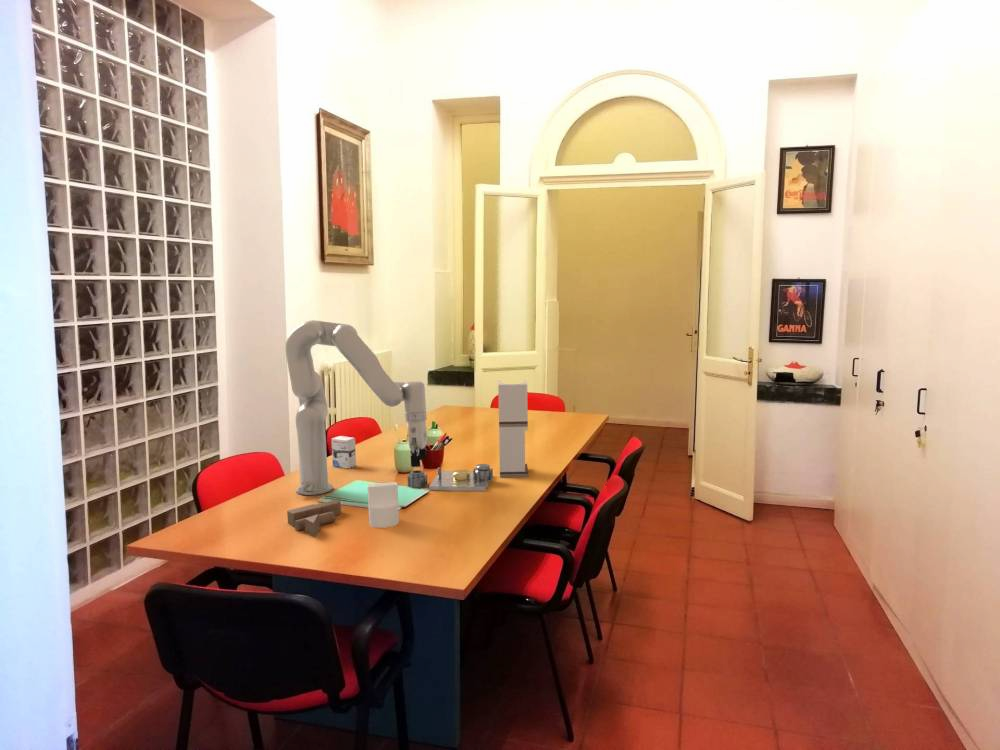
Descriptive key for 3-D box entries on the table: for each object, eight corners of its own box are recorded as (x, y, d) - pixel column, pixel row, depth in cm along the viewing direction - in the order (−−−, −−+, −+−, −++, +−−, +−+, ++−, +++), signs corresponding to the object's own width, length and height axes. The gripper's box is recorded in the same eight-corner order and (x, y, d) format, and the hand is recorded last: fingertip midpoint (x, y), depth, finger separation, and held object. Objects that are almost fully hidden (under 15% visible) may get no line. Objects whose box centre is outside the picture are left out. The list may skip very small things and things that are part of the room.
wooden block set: (283, 507, 212) (336, 495, 224) (284, 525, 213) (337, 512, 225) (309, 520, 199) (364, 506, 211) (310, 539, 200) (365, 524, 212)
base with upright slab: (370, 529, 207) (368, 490, 205) (367, 519, 216) (366, 482, 214) (400, 525, 209) (399, 487, 208) (397, 516, 218) (395, 479, 216)
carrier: (489, 491, 243) (489, 473, 242) (429, 490, 245) (428, 472, 244) (495, 475, 263) (495, 458, 262) (439, 474, 265) (439, 458, 264)
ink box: (332, 466, 280) (330, 438, 278) (340, 463, 284) (339, 435, 283) (348, 469, 276) (347, 440, 274) (356, 466, 280) (355, 437, 279)
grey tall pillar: (528, 476, 260) (527, 384, 256) (499, 477, 260) (498, 384, 256) (526, 468, 272) (525, 380, 267) (499, 469, 272) (498, 380, 267)
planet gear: (424, 488, 248) (424, 474, 247) (405, 487, 249) (405, 474, 248) (428, 482, 255) (428, 469, 254) (410, 482, 255) (409, 469, 255)
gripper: (421, 421, 240) (424, 469, 242) (431, 411, 257) (433, 456, 259) (399, 421, 240) (402, 469, 243) (411, 412, 257) (413, 457, 260)
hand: (418, 463), depth 251 cm, fingers open, 9 cm apart
